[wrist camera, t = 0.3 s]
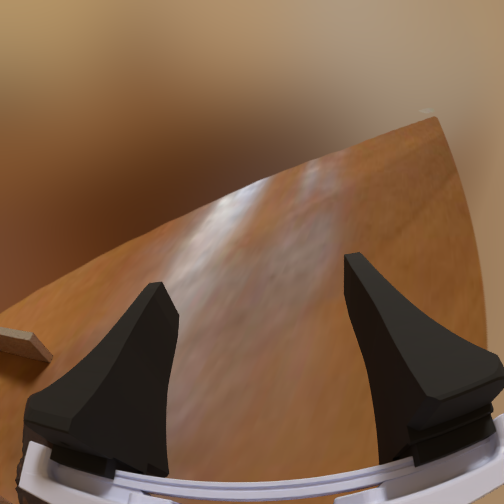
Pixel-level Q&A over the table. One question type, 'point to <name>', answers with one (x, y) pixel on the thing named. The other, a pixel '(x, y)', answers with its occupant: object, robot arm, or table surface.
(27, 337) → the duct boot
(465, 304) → the table surface
